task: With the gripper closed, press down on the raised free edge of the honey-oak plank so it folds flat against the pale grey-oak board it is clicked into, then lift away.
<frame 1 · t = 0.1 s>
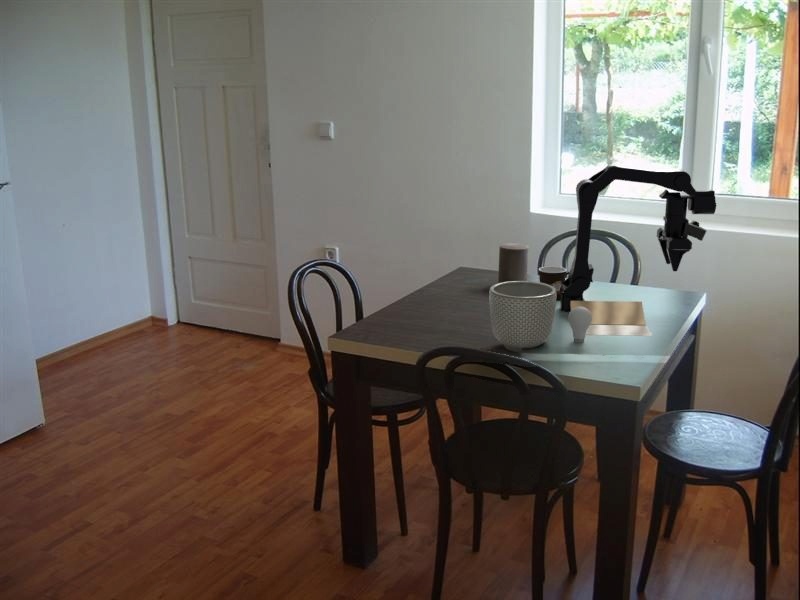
hand: (671, 267, 238), 15 cm above the table, fingers open, 9 cm apart
lightbulb: (578, 347, 216), on the table
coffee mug: (556, 301, 260), on the table
installed board: (611, 335, 225), on the table
planter: (521, 348, 217), on the table
pillar candle: (512, 286, 278), on the table
oak plank: (607, 314, 233), point 3 cm above the table, hinge at 30.0°
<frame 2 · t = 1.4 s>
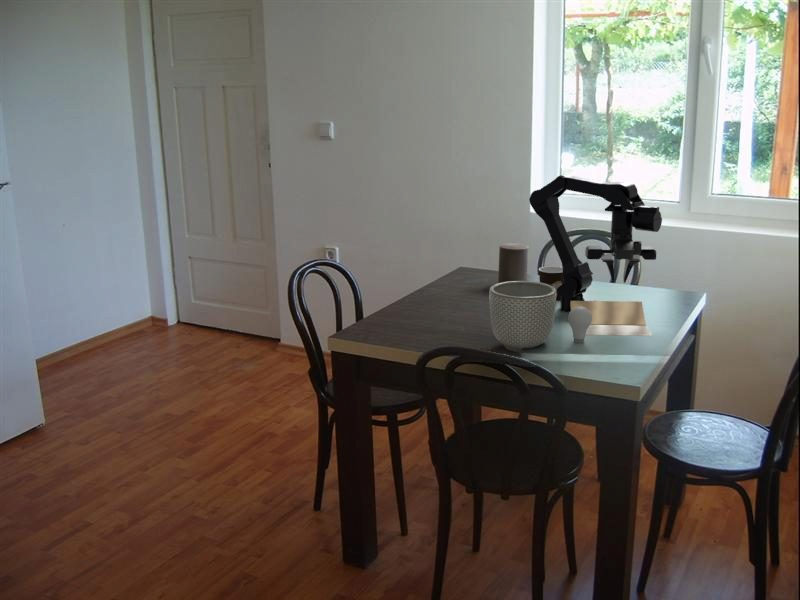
hand: (618, 282, 233), 12 cm above the table, fingers open, 3 cm apart
nothing on the table moved.
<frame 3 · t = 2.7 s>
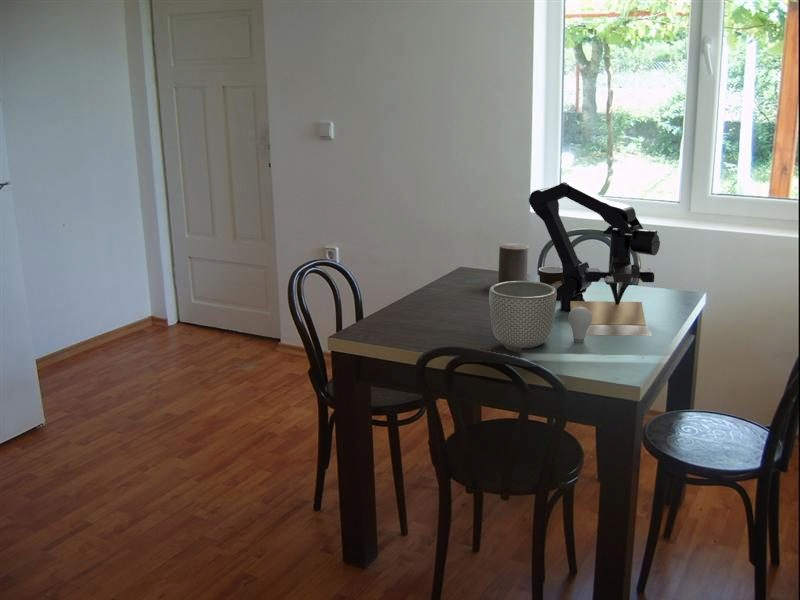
hand: (617, 304, 235), 6 cm above the table, fingers closed, pressing on oak plank
oak plank: (607, 314, 233), point 3 cm above the table, hinge at 29.1°, touching gripper
everything else where it was.
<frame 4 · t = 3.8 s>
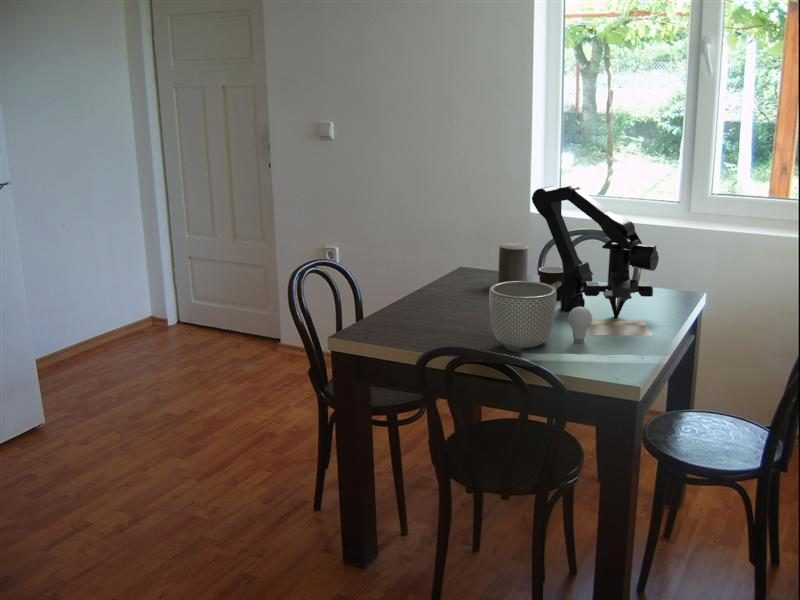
hand: (615, 317, 237), 1 cm above the table, fingers closed, pressing on oak plank
oak plank: (606, 322, 234), point 1 cm above the table, hinge at -0.7°, touching gripper
everything else where it was.
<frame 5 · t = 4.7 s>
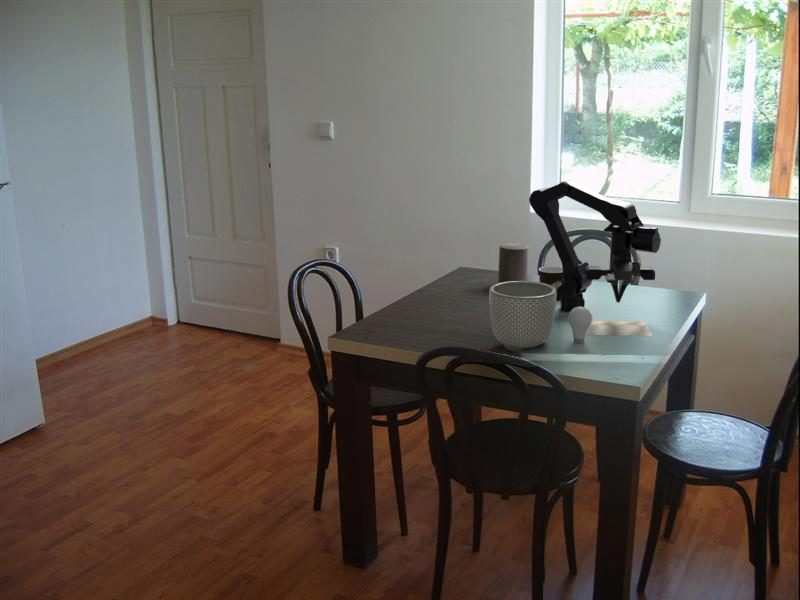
hand: (617, 302, 234), 6 cm above the table, fingers closed
oak plank: (606, 322, 234), point 1 cm above the table, hinge at -0.8°
everything else where it was.
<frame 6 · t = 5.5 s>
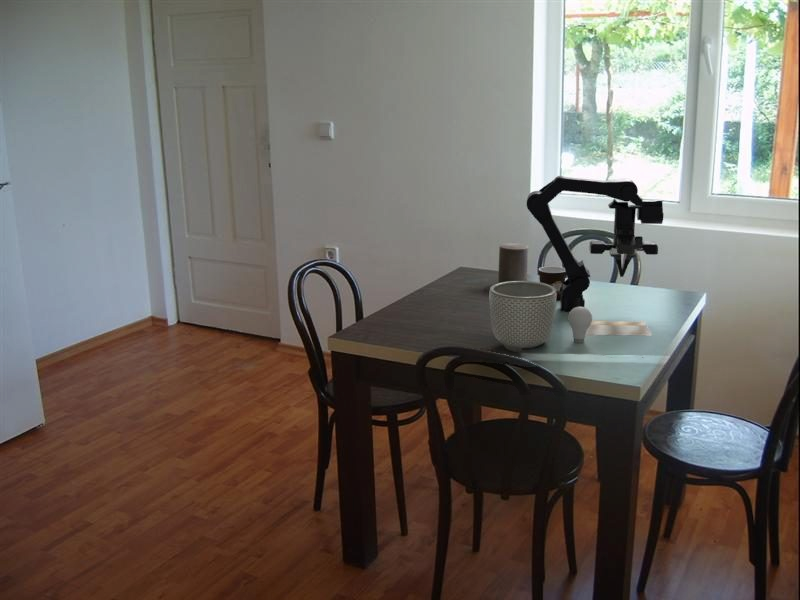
hand: (621, 276, 239), 12 cm above the table, fingers closed
nothing on the table moved.
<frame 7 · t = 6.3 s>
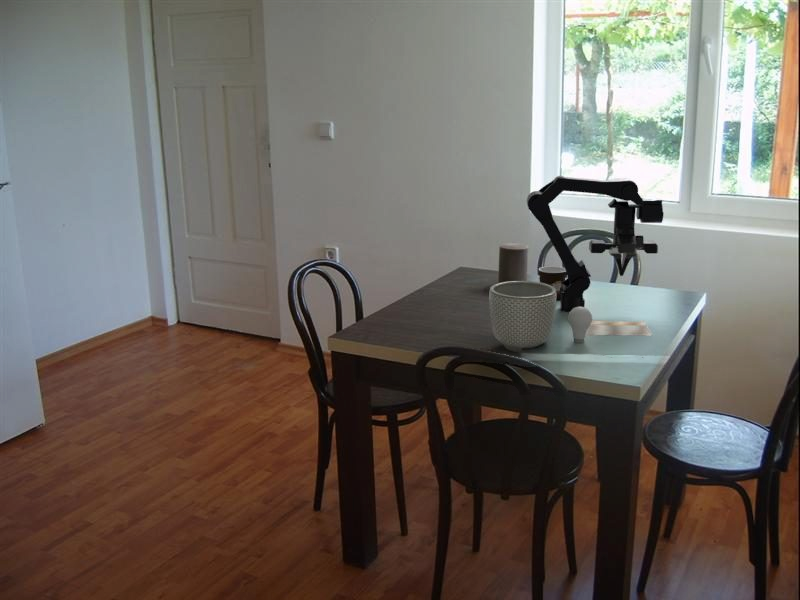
hand: (621, 275, 240), 12 cm above the table, fingers closed
nothing on the table moved.
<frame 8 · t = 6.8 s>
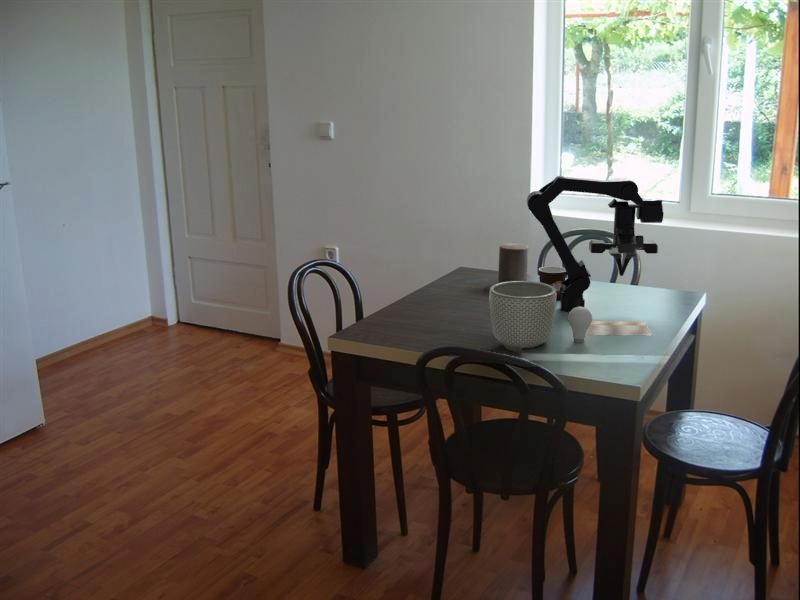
hand: (621, 275, 240), 12 cm above the table, fingers closed
nothing on the table moved.
at the end: oak plank at -1° (first picture: +30°) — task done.
